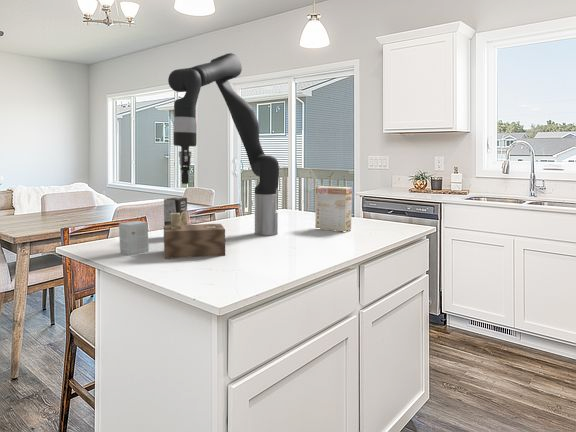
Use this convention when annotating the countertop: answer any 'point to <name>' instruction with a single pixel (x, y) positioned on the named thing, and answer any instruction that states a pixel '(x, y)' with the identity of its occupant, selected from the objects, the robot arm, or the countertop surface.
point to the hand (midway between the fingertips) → (185, 183)
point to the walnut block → (194, 241)
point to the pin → (175, 220)
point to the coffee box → (175, 210)
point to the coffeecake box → (333, 208)
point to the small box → (133, 237)
